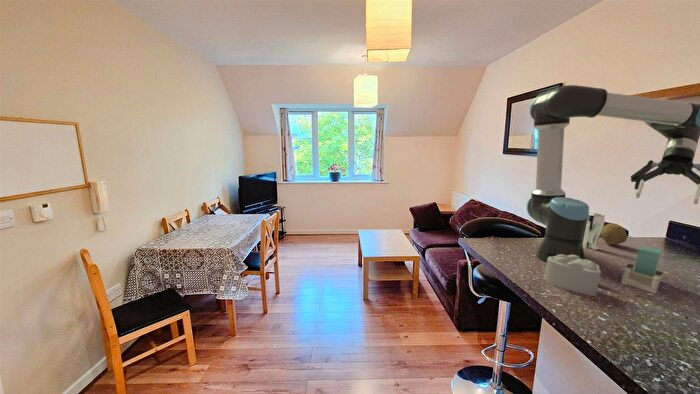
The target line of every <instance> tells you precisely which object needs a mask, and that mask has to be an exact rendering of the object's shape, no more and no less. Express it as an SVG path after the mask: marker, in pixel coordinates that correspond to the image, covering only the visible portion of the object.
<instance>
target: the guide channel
mask: <svg viewBox="0 0 700 394" xmlns="http://www.w3.org/2000/svg"><path fill="white" fill-rule="evenodd" d="M634 268H635V264H633V263H628V264H627V265H626V267H625V269H623V273H622V277H621V283H620V284H623V285H627V286H630V287H633V288H636V289H640V290H643V291H647V292H650V293H653V294H657V291H658V289H659V287H660V283H661V279H662V276H663V271H661V270H657V271H656V272H655V275H654V277H651V276H647V275H644V274H640V273H636V272H634Z"/></svg>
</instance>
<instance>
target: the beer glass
mask: <svg viewBox="0 0 700 394" xmlns="http://www.w3.org/2000/svg"><path fill="white" fill-rule="evenodd" d="M605 219H606V215H605V214H600V213H596V212H589V217H588V219H587V224H586V229H585V234H584V239H583V249H588V250H591V251H598V242H599V239H600V238H601V236H600V235H601V233H602V230H603V227H604V226H605Z"/></svg>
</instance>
